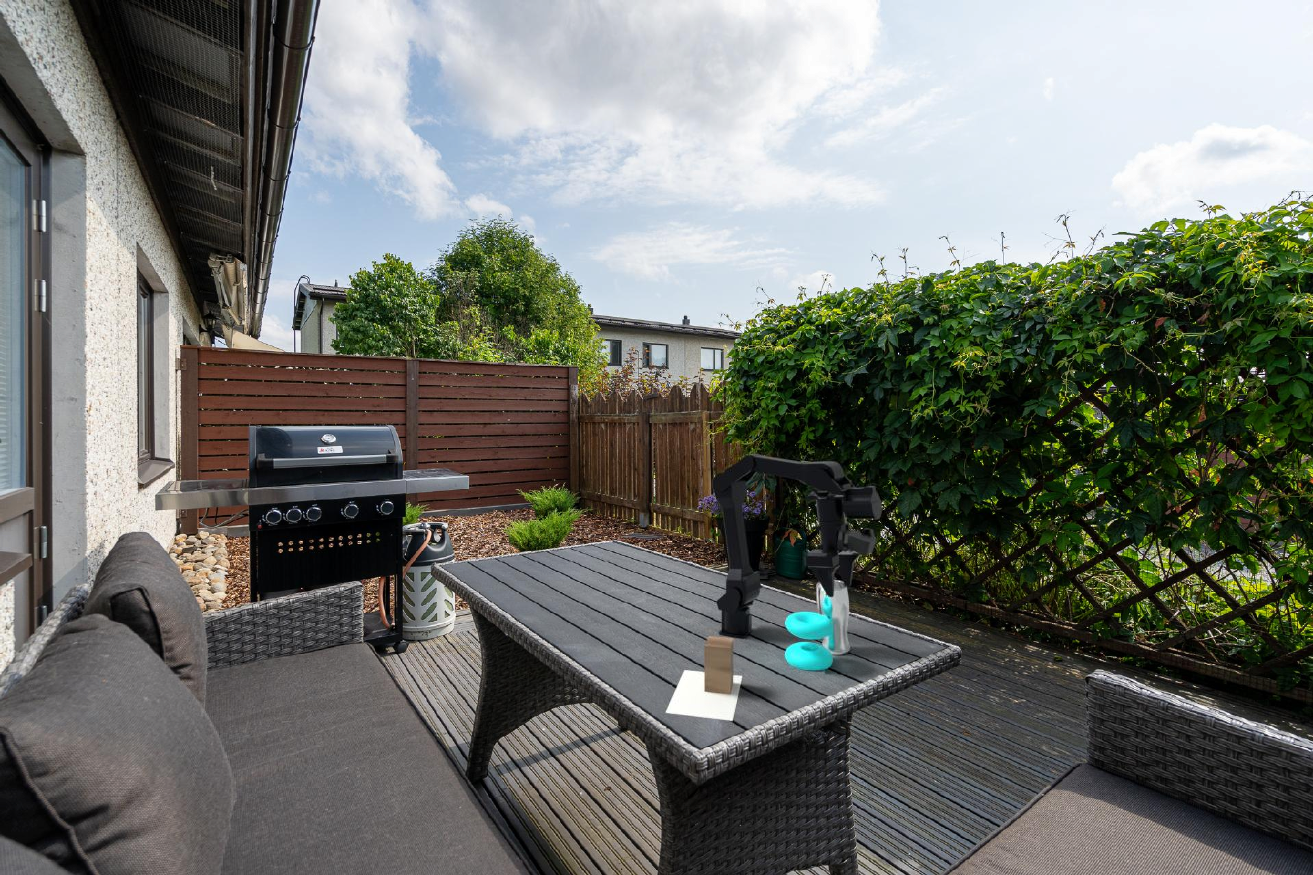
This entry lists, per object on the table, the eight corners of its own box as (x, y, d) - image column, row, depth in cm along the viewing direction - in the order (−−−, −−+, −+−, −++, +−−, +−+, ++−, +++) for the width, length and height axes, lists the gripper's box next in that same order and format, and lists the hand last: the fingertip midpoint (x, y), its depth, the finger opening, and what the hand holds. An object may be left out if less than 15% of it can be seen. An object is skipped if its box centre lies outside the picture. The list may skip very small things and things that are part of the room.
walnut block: (708, 680, 121) (708, 636, 121) (733, 682, 120) (733, 638, 119) (704, 691, 116) (704, 645, 116) (730, 694, 115) (730, 648, 114)
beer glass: (814, 645, 139) (809, 583, 137) (839, 638, 142) (834, 576, 140) (833, 658, 133) (828, 593, 131) (858, 650, 135) (854, 586, 133)
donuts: (792, 626, 124) (780, 610, 134) (791, 674, 125) (780, 654, 135) (840, 625, 125) (824, 609, 135) (839, 673, 125) (824, 653, 135)
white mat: (684, 672, 126) (684, 670, 126) (742, 678, 123) (742, 675, 123) (665, 715, 108) (665, 712, 108) (732, 723, 105) (732, 720, 105)
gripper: (851, 526, 119) (860, 605, 118) (883, 512, 133) (891, 583, 133) (799, 526, 126) (807, 601, 125) (835, 513, 140) (842, 580, 140)
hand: (839, 591), depth 131 cm, fingers open, 9 cm apart
